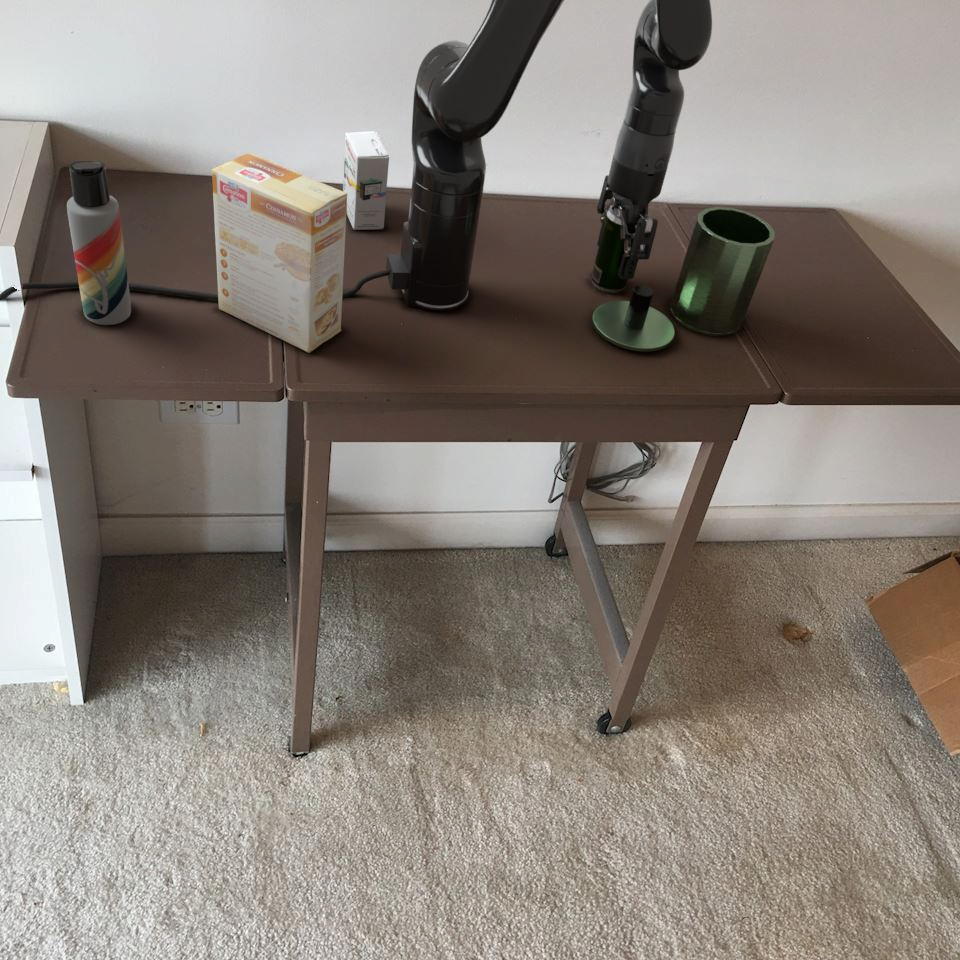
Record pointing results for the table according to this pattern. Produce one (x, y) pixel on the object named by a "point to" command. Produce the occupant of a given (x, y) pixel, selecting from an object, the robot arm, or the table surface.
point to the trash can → (721, 270)
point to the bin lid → (634, 322)
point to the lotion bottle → (98, 245)
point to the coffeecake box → (279, 250)
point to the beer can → (610, 255)
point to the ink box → (365, 179)
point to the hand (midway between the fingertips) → (614, 262)
